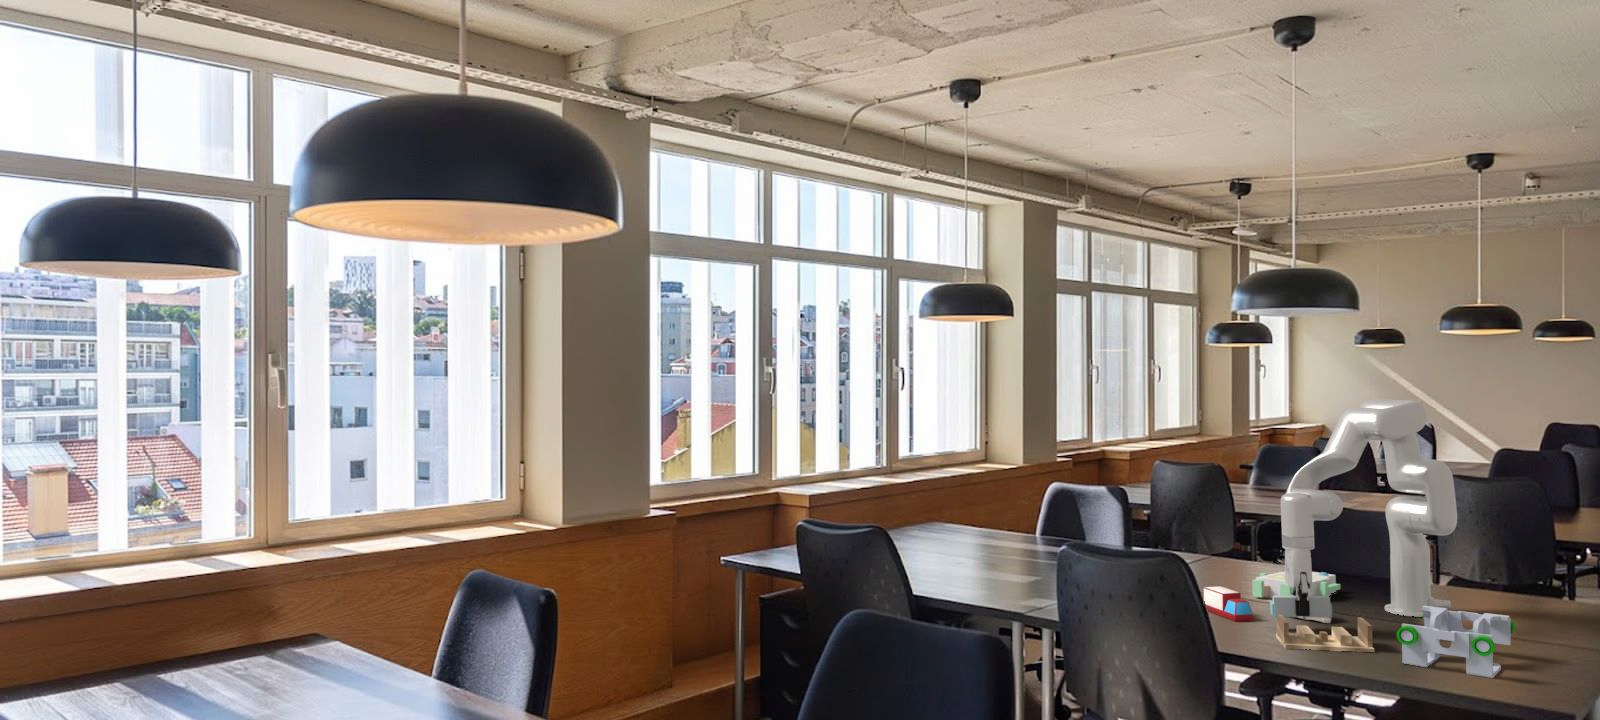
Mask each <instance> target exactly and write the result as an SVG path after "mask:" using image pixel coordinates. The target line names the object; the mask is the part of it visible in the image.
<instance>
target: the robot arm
mask: <svg viewBox="0 0 1600 720" xmlns="http://www.w3.org/2000/svg"><path fill="white" fill-rule="evenodd" d="M1427 421H1428V411H1427V409H1426V407H1425V405H1424V404H1422V403H1421V402H1420V401H1417V400H1411V399H1388V398H1387V399H1384V398H1379V399H1376V398H1375V399H1368V400H1366V401H1364V402H1363V401H1362V403H1361V404H1360V405H1359V407H1350V408H1347V409H1345V411H1344V412H1343V413H1341V415H1340V417H1339V419H1338V420H1337V422H1336V425H1335V427H1334V428H1333V431H1332V433H1331V435H1330V438H1329V439H1328V441H1327V443H1326V445H1325V447H1324V450H1323V451H1322V452H1321V453H1320V454H1318V455H1317V456H1315V457H1313V458H1311V460H1310V461H1308V462H1307V463H1306V464H1304V465H1303V466H1302V467H1300V469H1298V470H1297V472H1296V473H1295V474H1293V475H1294V476H1293V477H1292V479H1291V480H1290V483H1289V484H1288V487H1287V490H1286V492H1285V493H1284V494H1282V495H1281V496H1280V497H1281V498H1280V520H1281V521H1280V522H1281V525H1280V526H1281V544H1282V545H1281V546H1282V548H1283V549H1285V550H1284V551H1285V552H1284V571H1285V582H1286V583H1287V584H1288V585H1289V586H1290V587H1291V588H1292V596H1296V598H1297V600H1295V606H1296V615H1297V616H1310V606H1309V592H1308V588H1309V589H1310V588H1311V587H1312V572H1313V570H1312V568H1313V567H1312V557H1311V555H1312V554H1311V550H1314V549H1315V529H1314V528H1315V525H1314V522H1316V521H1322V522H1323V521H1325V522H1326V521H1333V520H1335V519H1337V518H1338V517H1339V516H1340V515H1341V514H1342V512H1343V509H1344V504H1343V501H1342V499H1341V497H1340V496H1339V495H1337V494H1336V493H1334V492H1330V491H1328V490H1327V491H1326V490H1318V489H1315V488H1316V486H1318V485H1319V484H1320V483H1321V482H1324V481H1325V480H1327V479H1329V478H1331V477H1336V476H1339V475H1342V474H1344V473H1347V472H1349V471H1352V470H1353V469H1355V468H1356V467H1357V465H1358V464H1359V461H1360V458H1361V457H1362V454H1363V452H1364V451H1365V448H1366V446H1367V445H1368V442H1369V441H1381V442H1382V446H1383V453H1384V462H1385V468H1386V470H1385V471H1386V477H1387V482H1388V484H1389V486H1390V487H1391V488H1392V490H1394V491H1397V492H1400V493H1407V494H1418V495H1425V497H1422V496H1421V497H1420V496H1410V495H1409V496H1408V495H1401V496H1400V495H1399V496H1395V497H1393V498H1392V499H1389V501H1388V502H1387V504H1386V506H1385V509H1384V510H1385V513H1384V514H1385V520H1386V525H1387V529H1388V534H1389V549H1390V550H1389V551H1390V555H1389V560H1390V563H1389V564H1390V565H1389V566H1390V603H1388V604H1385V605H1384V611H1386V612H1387V613H1389V612H1390V613H1389V614H1393V615H1397V614H1399V615H1398V616H1403V615H1404V616H1405V617H1412V616H1414V617H1413V618H1415V617H1416V618H1423V617H1422V616H1423V611H1422V607H1423V606H1432V607H1440V608H1447V609H1448V608H1449V609H1450V608H1452V603H1451V600H1447V599H1446V600H1443V599H1437V598H1434V597H1433V596H1432V595H1431V593H1432V591H1431V550H1430V548H1431V547H1430V545H1429V542H1428V540H1427V538H1426V537H1425V535H1431V536H1433V535H1434V536H1449V535H1451V534H1452V533H1453V532H1455V529H1456V528H1457V524H1458V508H1457V502H1456V501H1457V500H1456V499H1457V498H1456V489H1455V482H1454V477H1453V472H1452V471H1451V469H1450V467H1449V466H1448V465H1447V464H1446V463H1444V461H1442V460H1438V459H1430V458H1423V457H1422V456H1421V450H1420V446H1419V439H1418V436H1417V435H1416V434H1417V433H1418V432H1419V431H1421V430H1423V429H1424V427H1425V426H1426V424H1427ZM1424 534H1425V535H1424ZM1404 616H1403V617H1404Z"/></svg>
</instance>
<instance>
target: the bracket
mask: <svg viewBox="0 0 1600 720" xmlns="http://www.w3.org/2000/svg"><path fill="white" fill-rule="evenodd" d="M1422 611H1423V616H1422V617H1421V618H1422V620H1423V622H1424V623H1423V625H1418V624H1416V625H1415V624H1409V623H1401V627H1400V628H1399V629H1398V630H1397V631H1396V638H1397V639H1398V641H1399V643H1401V664H1402V663H1404V664H1410V665H1416V666H1415V667H1417V666H1421V667H1420V668H1423V667H1428V666H1429V665H1430V664H1431V665H1433V664H1434V663H1435V662H1436V661H1437V660H1439V659H1440V658H1441V654H1442V655H1447V656H1453V657H1454V656H1455V657H1462V658H1465V665H1466V666H1465V673H1466V675H1470V676H1475V677H1483V678H1488V679H1493V678H1495V676H1496V675H1498V674H1499V672H1500V671H1501V670H1502V665H1501V664H1500V663H1496V662H1494V657H1493V656H1494V654H1493V652H1494V651H1495V649H1496V644H1497V645H1505V646H1511V645H1512V641H1511V639H1512V637H1511V635H1512V634H1513V633H1514V631H1515V629H1516V625H1515V622H1514V621H1513V620H1512V619H1511V618H1510V615H1505V614H1496V613H1488V612H1484V613H1483V614H1480V613H1478V612H1469V611H1464V610H1463V611H1461V610H1458V611H1456V610H1448V608H1443V607H1432V606H1423V607H1422ZM1462 620H1463V621H1469V622H1472V628H1471V629H1466V628H1464V626H1463V624H1462V622H1463V621H1462ZM1441 640H1443V641H1451V642H1450V647H1445V646H1442V645H1441ZM1439 657H1440V658H1439ZM1438 658H1439V659H1438ZM1435 660H1436V661H1435ZM1434 661H1435V662H1434ZM1433 662H1434V663H1433ZM1432 663H1433V664H1432ZM1404 664H1403V665H1404ZM1410 665H1409V666H1410ZM1431 665H1430V666H1431ZM1430 666H1429V667H1430ZM1429 667H1428V668H1429Z"/></svg>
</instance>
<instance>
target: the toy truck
mask: <svg viewBox="0 0 1600 720" xmlns="http://www.w3.org/2000/svg"><path fill="white" fill-rule="evenodd" d="M1241 596H1242V594H1241V592H1239V591H1237V590H1232V589H1230V588H1228V587H1224V586H1220V585H1219V586H1204V587H1203V602H1204V601H1205V604H1206V606H1207V609H1208V613H1211V614H1212V615H1216V616H1218V617H1220V618H1223V619H1226V620H1228V621H1231V622H1234V623H1242V622H1244V623H1246V622H1254V613H1253V611H1252V609H1251V605H1250V603H1249V601H1248V600H1245V599H1243V598H1241Z"/></svg>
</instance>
